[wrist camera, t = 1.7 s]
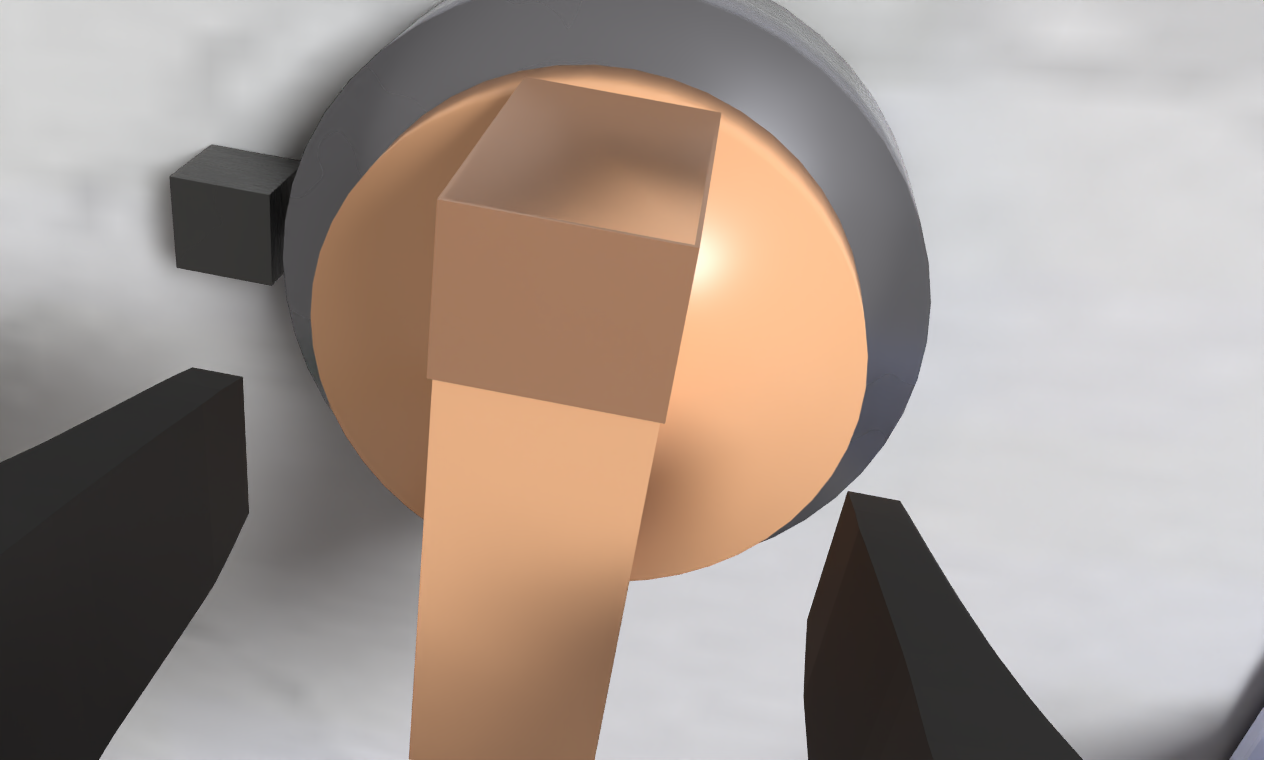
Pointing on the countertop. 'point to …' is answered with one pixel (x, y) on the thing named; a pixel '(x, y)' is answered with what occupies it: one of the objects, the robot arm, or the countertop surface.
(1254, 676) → the countertop surface
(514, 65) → the post base
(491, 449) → the twist cap
